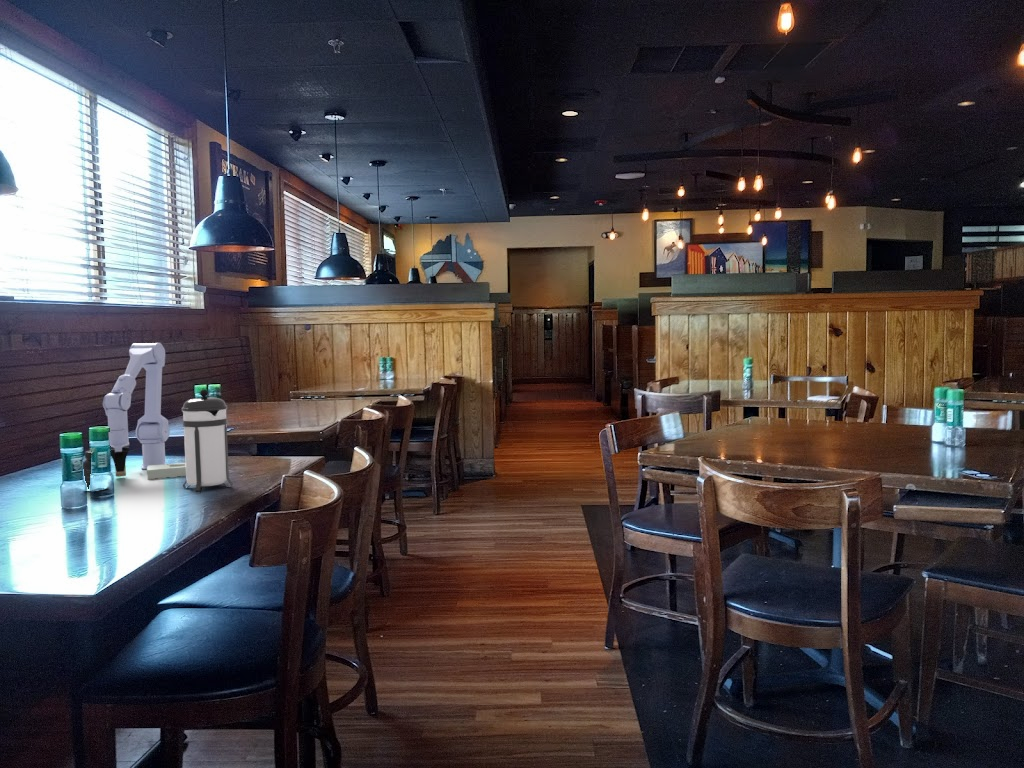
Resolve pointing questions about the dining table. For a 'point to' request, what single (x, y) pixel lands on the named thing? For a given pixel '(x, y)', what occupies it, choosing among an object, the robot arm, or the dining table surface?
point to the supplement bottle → (87, 467)
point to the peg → (121, 473)
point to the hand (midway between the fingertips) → (120, 470)
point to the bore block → (166, 470)
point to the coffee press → (205, 442)
